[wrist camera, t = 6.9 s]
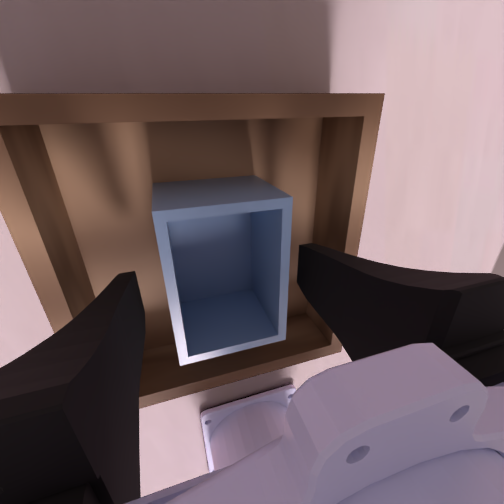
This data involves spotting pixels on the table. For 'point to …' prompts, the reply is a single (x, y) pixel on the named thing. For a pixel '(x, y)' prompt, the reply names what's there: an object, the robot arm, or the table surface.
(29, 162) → the tray
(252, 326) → the blue crate
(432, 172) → the table surface
